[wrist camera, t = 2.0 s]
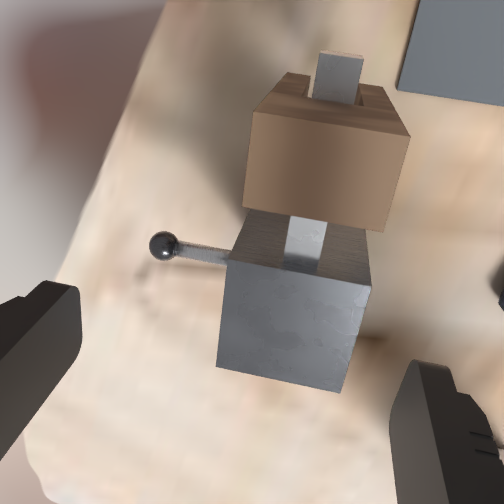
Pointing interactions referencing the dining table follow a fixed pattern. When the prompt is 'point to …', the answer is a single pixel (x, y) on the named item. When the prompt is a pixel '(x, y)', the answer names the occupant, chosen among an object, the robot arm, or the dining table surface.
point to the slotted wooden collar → (325, 155)
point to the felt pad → (457, 51)
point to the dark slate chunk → (501, 300)
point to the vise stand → (291, 278)
